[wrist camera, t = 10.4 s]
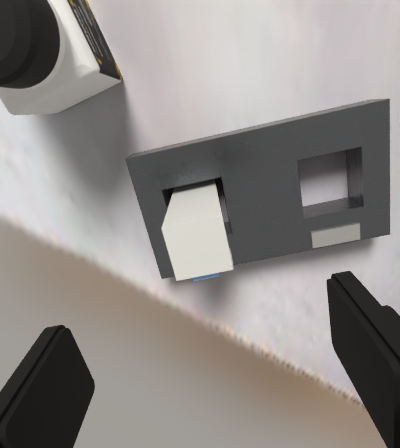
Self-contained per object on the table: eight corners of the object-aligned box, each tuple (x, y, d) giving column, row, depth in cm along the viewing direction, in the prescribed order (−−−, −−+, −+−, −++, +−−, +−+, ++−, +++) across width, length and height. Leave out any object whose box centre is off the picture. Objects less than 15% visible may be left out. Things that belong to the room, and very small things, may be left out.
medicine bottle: (125, 80, 27) (70, 60, 15) (55, 115, 28) (-44, 119, 16) (82, -10, 24) (-17, -111, 13) (8, 31, 25) (-144, -31, 14)
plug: (214, 178, 30) (222, 215, 19) (223, 222, 31) (235, 277, 21) (174, 187, 30) (161, 228, 20) (185, 229, 32) (178, 288, 21)
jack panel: (369, 99, 27) (390, 98, 24) (372, 223, 31) (391, 235, 28) (132, 154, 29) (124, 159, 26) (165, 264, 33) (161, 279, 30)
